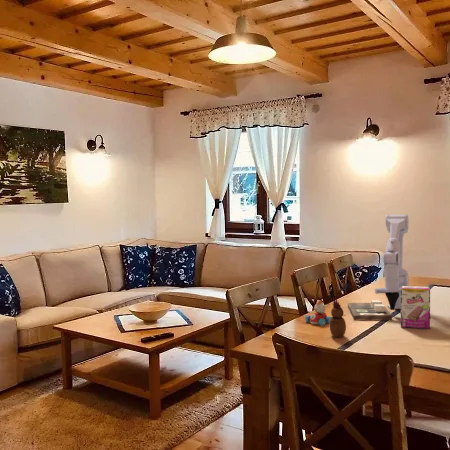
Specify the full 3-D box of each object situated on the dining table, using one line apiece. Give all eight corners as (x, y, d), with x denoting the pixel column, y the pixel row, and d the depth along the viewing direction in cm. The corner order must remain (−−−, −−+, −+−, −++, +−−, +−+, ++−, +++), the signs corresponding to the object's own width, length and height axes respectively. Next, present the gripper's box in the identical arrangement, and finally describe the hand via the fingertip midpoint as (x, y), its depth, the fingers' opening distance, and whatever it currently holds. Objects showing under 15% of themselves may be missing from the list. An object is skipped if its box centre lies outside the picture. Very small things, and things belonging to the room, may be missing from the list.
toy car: (303, 323, 210) (303, 300, 210) (317, 319, 216) (316, 297, 215) (320, 327, 203) (319, 303, 203) (333, 322, 209) (333, 300, 208)
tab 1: (380, 305, 226) (380, 300, 226) (381, 307, 222) (381, 302, 222) (371, 305, 227) (371, 300, 227) (372, 307, 223) (372, 302, 223)
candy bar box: (400, 327, 197) (400, 287, 196) (400, 324, 202) (400, 285, 201) (430, 329, 193) (430, 288, 192) (429, 326, 198) (429, 286, 197)
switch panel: (381, 306, 233) (381, 302, 233) (392, 319, 209) (391, 314, 209) (347, 307, 235) (347, 302, 235) (353, 319, 212) (353, 314, 211)
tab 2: (383, 309, 218) (383, 304, 218) (384, 311, 214) (384, 306, 214) (374, 309, 219) (373, 304, 219) (375, 311, 215) (375, 306, 215)
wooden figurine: (328, 334, 192) (327, 296, 191) (342, 333, 193) (341, 295, 192) (333, 339, 185) (332, 300, 185) (348, 338, 186) (347, 299, 185)
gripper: (376, 280, 212) (377, 311, 213) (411, 280, 210) (411, 311, 211) (373, 278, 219) (374, 307, 220) (407, 277, 217) (407, 307, 218)
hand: (392, 309), depth 216 cm, fingers closed
